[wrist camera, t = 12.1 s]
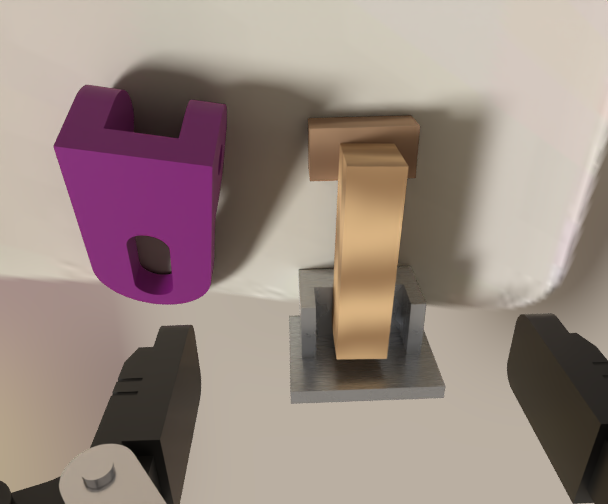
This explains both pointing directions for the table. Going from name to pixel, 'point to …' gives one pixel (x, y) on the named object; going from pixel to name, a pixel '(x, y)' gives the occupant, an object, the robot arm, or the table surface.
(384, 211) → the rail
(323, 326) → the bracket
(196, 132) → the mounting bracket
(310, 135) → the rest block
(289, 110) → the table surface
